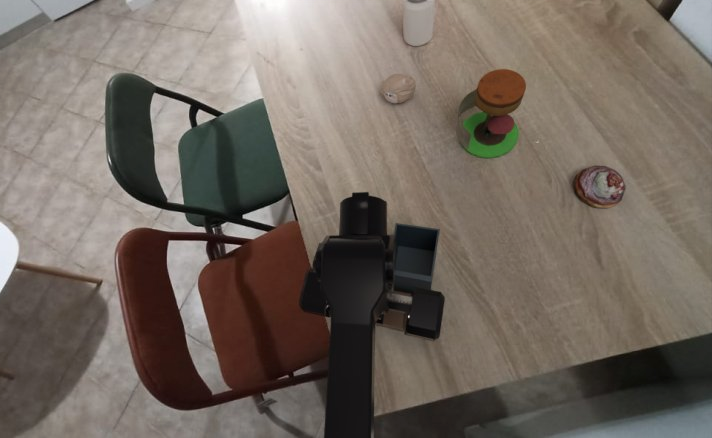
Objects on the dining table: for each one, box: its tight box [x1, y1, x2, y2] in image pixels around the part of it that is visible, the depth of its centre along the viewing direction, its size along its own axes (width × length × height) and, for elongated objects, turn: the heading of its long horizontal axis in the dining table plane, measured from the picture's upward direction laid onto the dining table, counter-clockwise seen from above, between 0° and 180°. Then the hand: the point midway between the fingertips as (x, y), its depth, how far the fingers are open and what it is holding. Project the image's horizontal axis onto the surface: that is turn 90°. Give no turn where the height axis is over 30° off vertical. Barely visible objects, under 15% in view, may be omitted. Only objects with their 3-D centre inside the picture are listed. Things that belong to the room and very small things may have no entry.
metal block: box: [375, 290, 411, 333], centre depth 76 cm, size 6×10×4 cm, turn 74°
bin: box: [393, 222, 441, 294], centre depth 76 cm, size 14×7×14 cm
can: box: [402, 0, 436, 47], centre depth 96 cm, size 6×6×12 cm
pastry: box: [573, 165, 626, 209], centre depth 75 cm, size 8×8×5 cm
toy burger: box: [455, 68, 527, 159], centre depth 80 cm, size 12×13×15 cm
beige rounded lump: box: [380, 73, 416, 104], centre depth 93 cm, size 7×6×8 cm
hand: (373, 314), depth 67 cm, fingers open, 9 cm apart
